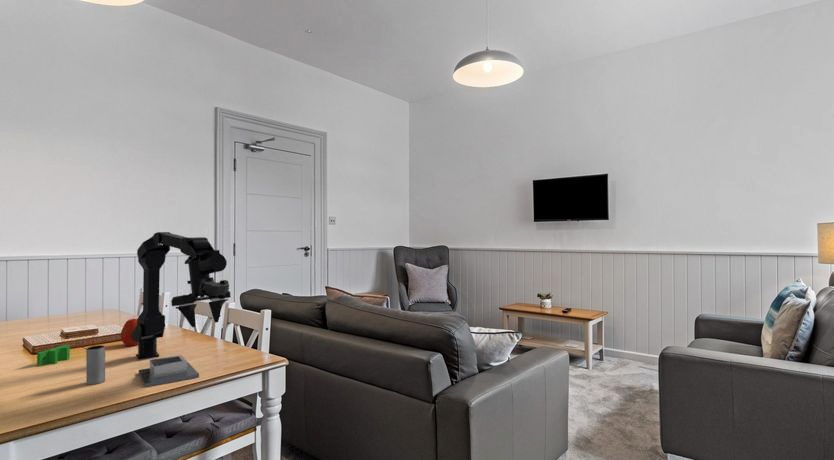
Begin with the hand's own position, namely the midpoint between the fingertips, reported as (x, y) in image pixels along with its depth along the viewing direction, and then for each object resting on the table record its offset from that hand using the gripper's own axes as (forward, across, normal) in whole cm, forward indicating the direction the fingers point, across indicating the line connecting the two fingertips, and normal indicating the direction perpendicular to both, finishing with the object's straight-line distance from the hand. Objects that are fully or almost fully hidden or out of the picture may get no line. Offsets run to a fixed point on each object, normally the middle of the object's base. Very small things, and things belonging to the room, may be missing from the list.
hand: (205, 324), depth 145 cm
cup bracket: (+13, -7, +10) cm, 18 cm away
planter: (+11, -19, +24) cm, 33 cm away
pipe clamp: (+5, -10, +58) cm, 59 cm away
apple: (+5, +15, +54) cm, 56 cm away
